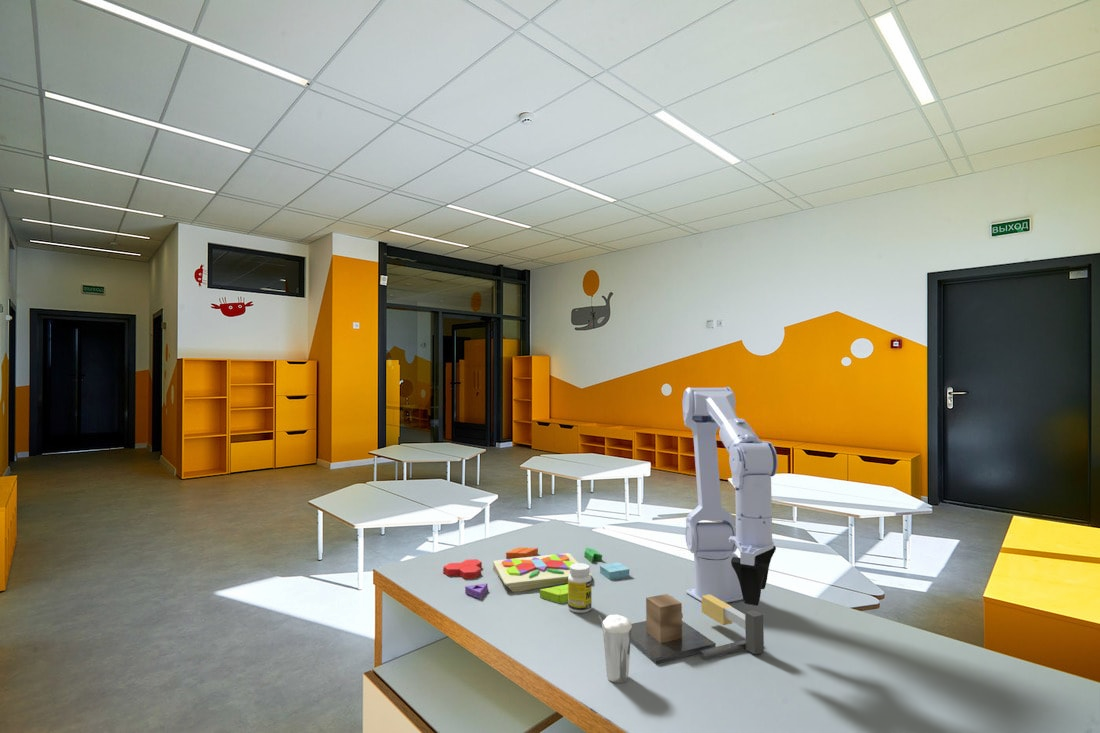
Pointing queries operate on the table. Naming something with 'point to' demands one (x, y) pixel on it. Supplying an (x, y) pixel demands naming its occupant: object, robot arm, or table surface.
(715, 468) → the robot arm
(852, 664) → the table surface
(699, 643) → the press base
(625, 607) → the table surface
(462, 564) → the pattern blocks set
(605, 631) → the milkshake
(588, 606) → the supplement bottle
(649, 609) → the brown rectangular block
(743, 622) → the lever with yellow grip
